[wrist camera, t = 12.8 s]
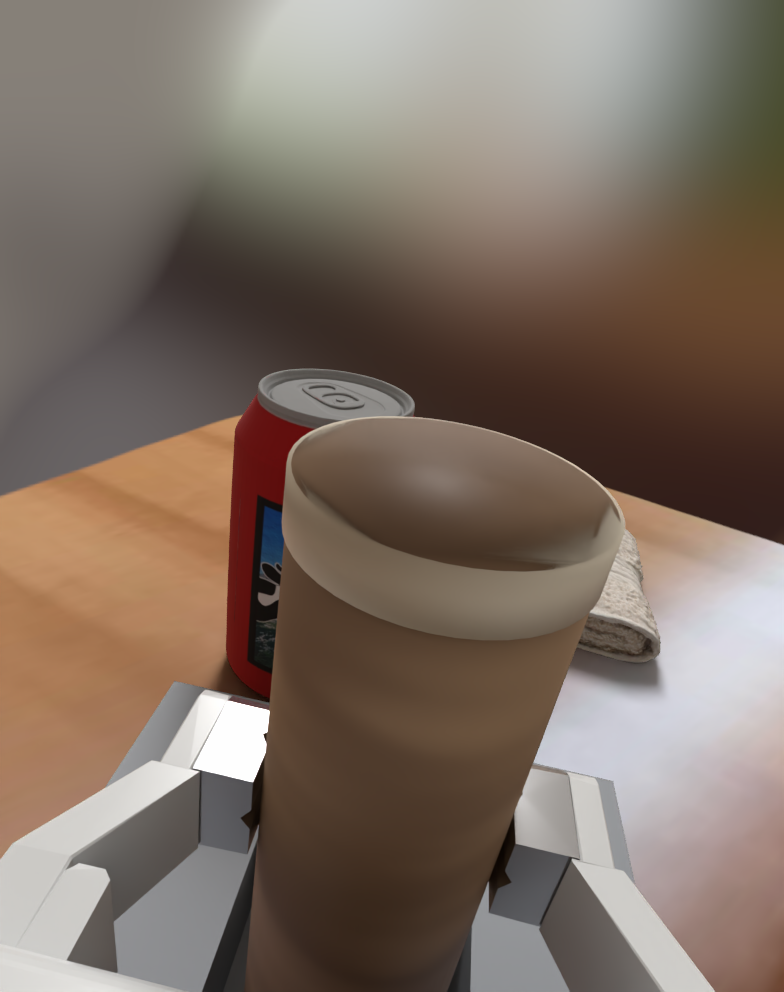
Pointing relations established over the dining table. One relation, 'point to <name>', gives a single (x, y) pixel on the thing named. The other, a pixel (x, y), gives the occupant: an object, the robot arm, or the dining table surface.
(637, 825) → the dining table surface
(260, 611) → the beverage can
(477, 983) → the hole block
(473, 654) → the dowel
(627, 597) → the washcloth
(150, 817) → the robot arm
